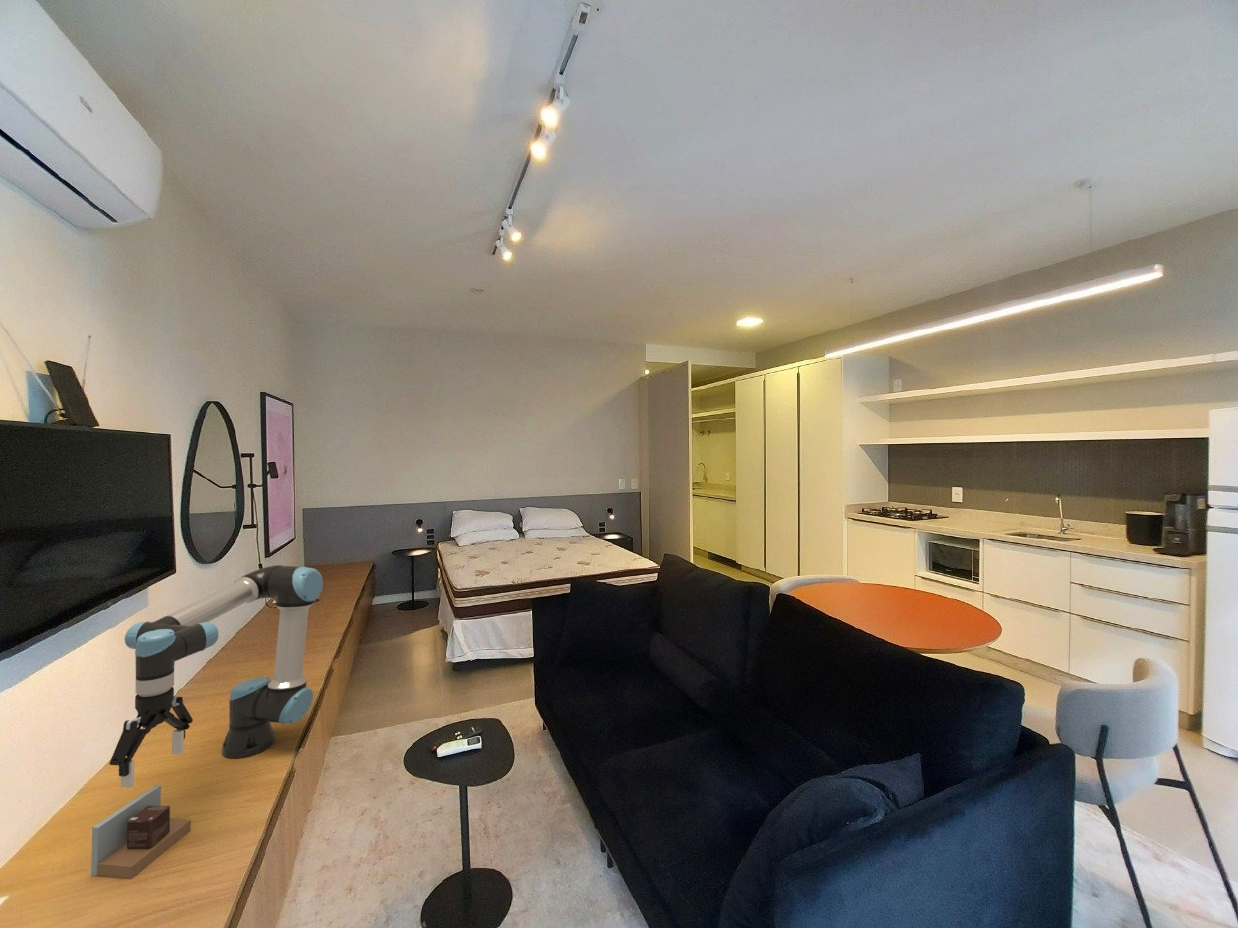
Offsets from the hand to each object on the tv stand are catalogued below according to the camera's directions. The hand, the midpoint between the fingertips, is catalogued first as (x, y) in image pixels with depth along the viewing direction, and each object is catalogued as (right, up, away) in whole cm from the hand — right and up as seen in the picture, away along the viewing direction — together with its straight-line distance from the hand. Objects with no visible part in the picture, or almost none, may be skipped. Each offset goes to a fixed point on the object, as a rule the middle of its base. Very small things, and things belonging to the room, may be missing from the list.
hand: (153, 769), depth 132 cm
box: (0, -18, -2) cm, 18 cm away
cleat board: (-1, -21, -1) cm, 21 cm away
